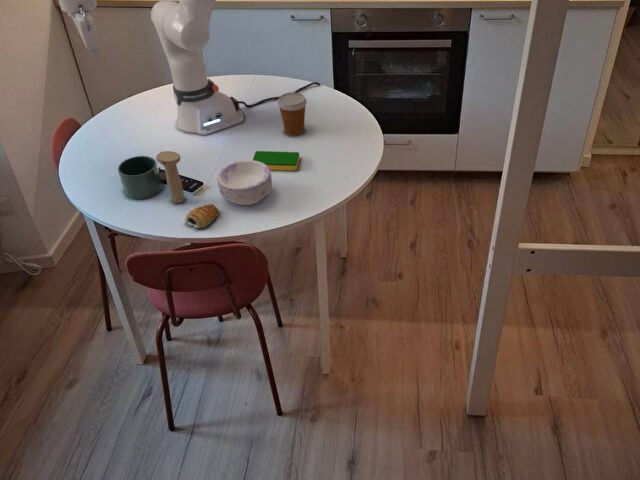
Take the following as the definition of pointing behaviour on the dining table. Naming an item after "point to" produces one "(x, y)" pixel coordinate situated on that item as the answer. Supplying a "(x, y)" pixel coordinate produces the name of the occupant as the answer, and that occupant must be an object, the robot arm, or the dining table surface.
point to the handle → (172, 174)
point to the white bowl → (244, 181)
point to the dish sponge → (278, 159)
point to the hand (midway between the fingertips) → (93, 52)
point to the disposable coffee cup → (292, 112)
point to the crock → (140, 177)
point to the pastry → (202, 216)
